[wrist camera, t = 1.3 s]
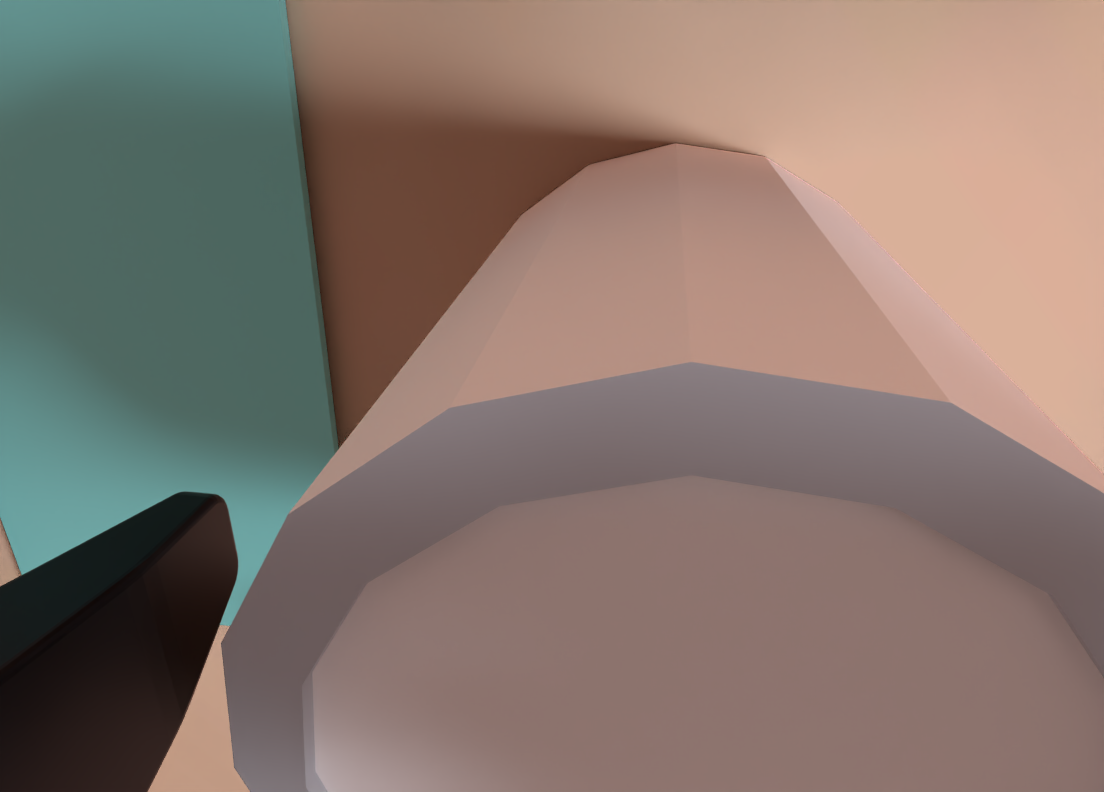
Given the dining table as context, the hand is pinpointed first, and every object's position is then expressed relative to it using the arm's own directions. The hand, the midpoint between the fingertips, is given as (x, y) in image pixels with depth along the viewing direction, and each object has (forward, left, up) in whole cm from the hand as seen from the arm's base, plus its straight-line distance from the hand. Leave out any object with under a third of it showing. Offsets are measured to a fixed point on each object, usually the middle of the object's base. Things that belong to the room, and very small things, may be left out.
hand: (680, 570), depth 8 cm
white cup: (0, 0, -5) cm, 5 cm away
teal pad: (0, +8, -4) cm, 9 cm away
